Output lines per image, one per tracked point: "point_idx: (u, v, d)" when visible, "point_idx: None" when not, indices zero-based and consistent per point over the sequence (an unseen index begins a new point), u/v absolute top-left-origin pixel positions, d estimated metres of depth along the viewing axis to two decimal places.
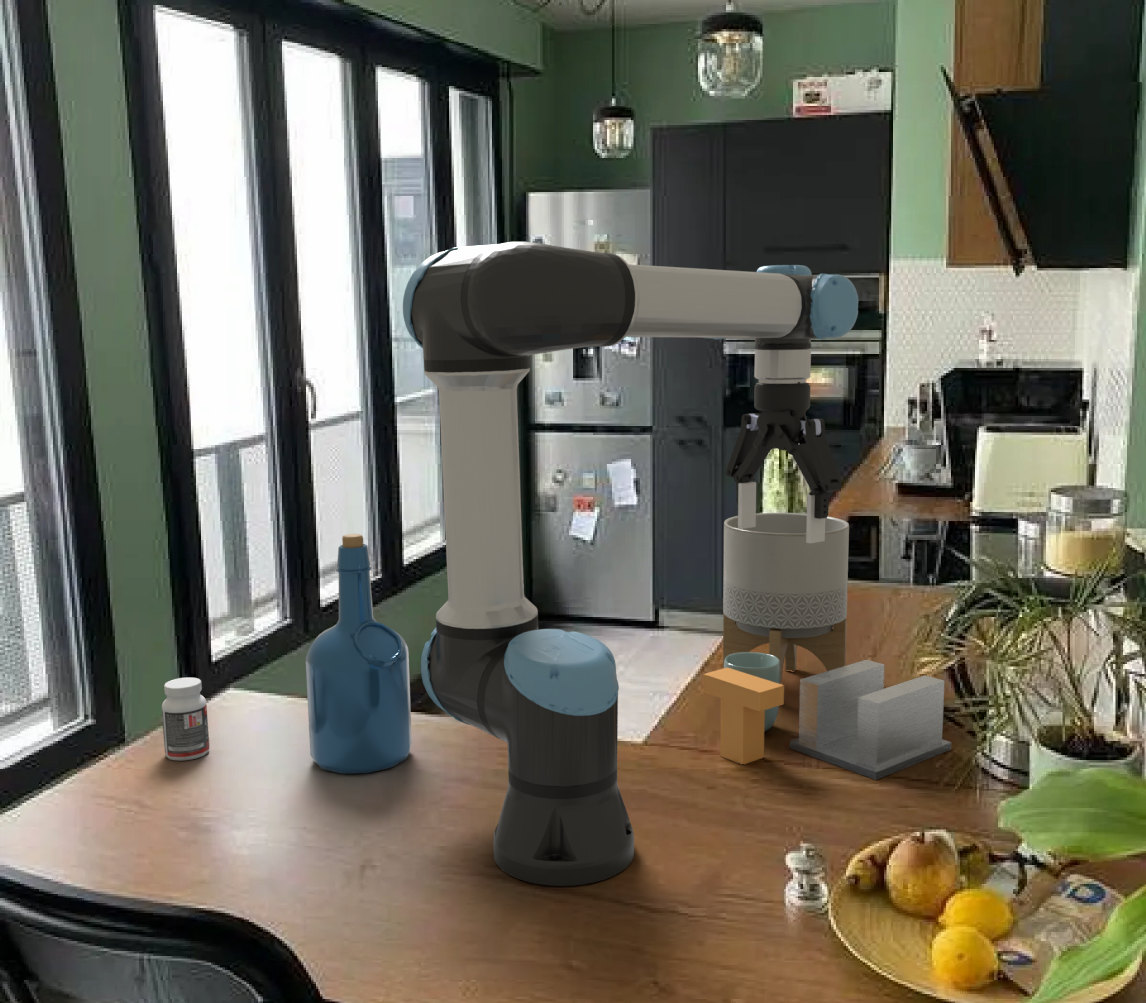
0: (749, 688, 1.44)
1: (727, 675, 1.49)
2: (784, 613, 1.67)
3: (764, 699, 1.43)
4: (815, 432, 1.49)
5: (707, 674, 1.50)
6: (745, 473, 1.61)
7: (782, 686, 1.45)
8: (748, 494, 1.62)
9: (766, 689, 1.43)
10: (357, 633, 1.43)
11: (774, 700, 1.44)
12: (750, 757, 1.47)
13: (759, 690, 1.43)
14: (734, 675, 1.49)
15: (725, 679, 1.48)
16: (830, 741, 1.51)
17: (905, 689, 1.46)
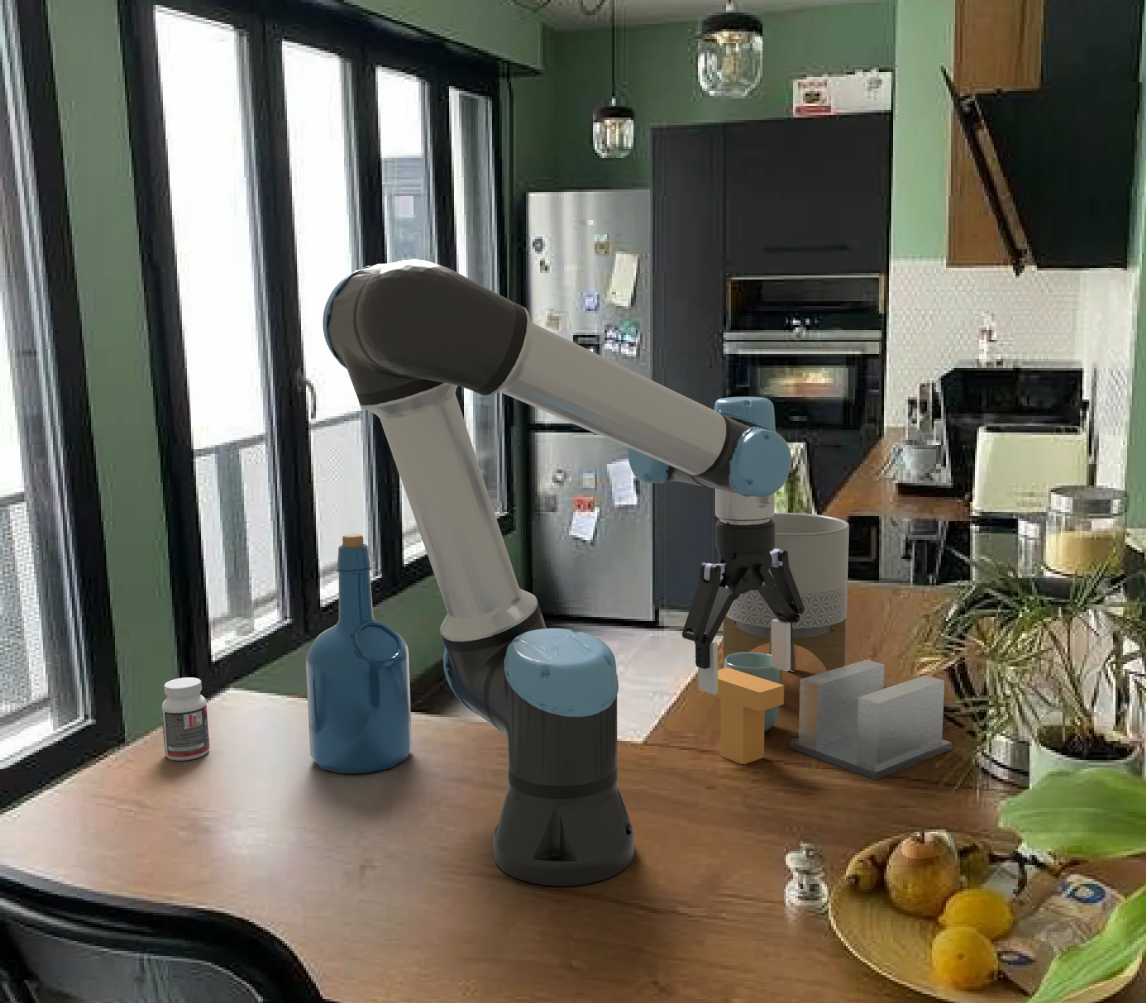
0: (749, 688, 1.44)
1: (727, 675, 1.49)
2: None
3: (764, 699, 1.43)
4: (703, 577, 1.41)
5: None
6: (773, 610, 1.51)
7: (782, 686, 1.45)
8: (778, 633, 1.51)
9: (766, 689, 1.43)
10: (357, 633, 1.43)
11: (774, 700, 1.44)
12: (750, 757, 1.47)
13: (759, 690, 1.43)
14: (734, 675, 1.49)
15: (725, 679, 1.48)
16: (830, 741, 1.51)
17: (905, 689, 1.46)
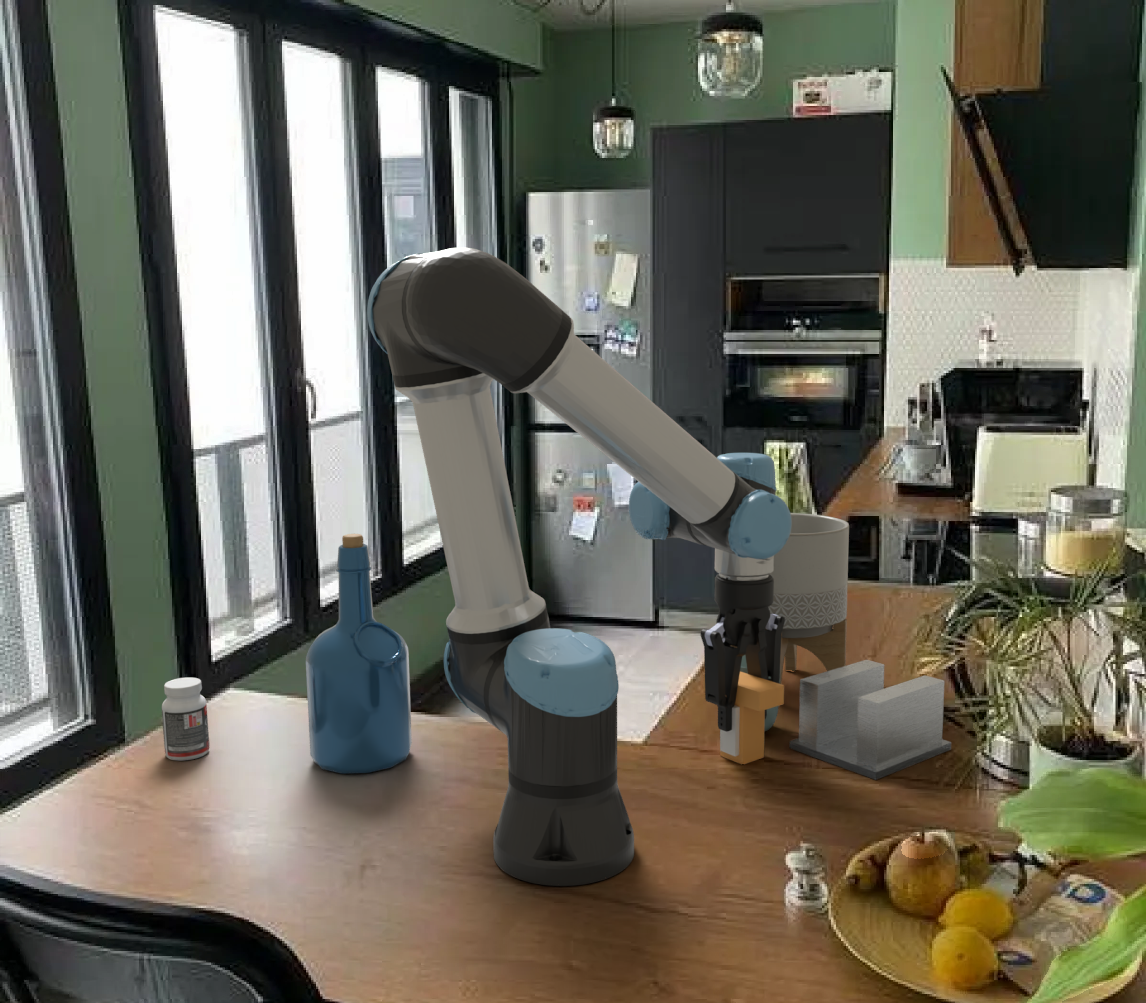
0: (749, 688, 1.44)
1: None
2: (784, 613, 1.67)
3: (764, 699, 1.43)
4: (706, 644, 1.43)
5: None
6: None
7: (782, 686, 1.45)
8: None
9: (766, 689, 1.43)
10: (357, 633, 1.43)
11: (774, 700, 1.44)
12: (750, 757, 1.47)
13: (760, 690, 1.43)
14: None
15: None
16: (830, 741, 1.51)
17: (905, 689, 1.46)
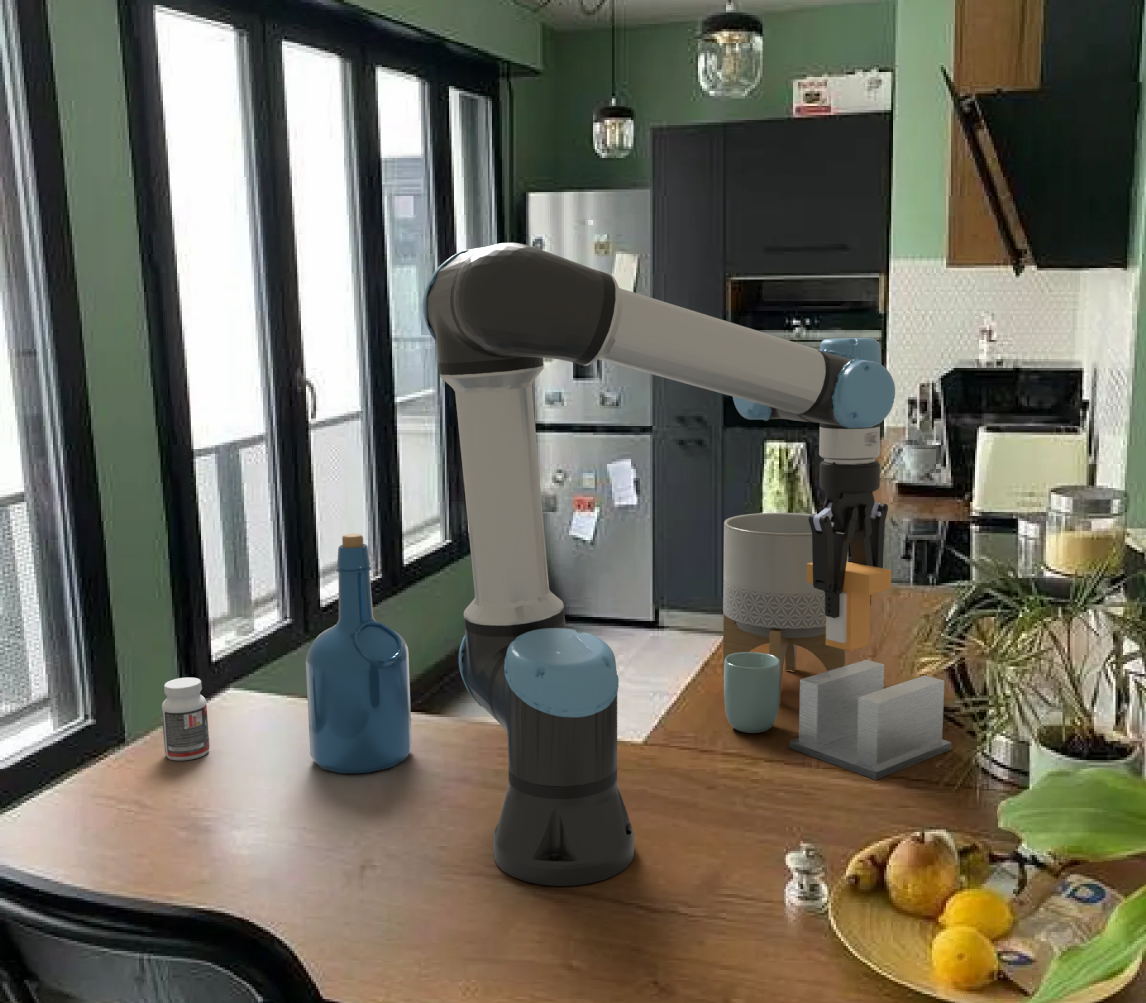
0: (857, 572, 1.44)
1: None
2: (784, 613, 1.67)
3: (873, 583, 1.43)
4: (815, 529, 1.43)
5: (811, 563, 1.49)
6: None
7: (890, 570, 1.44)
8: None
9: (874, 573, 1.43)
10: (357, 633, 1.43)
11: (882, 584, 1.44)
12: (857, 644, 1.47)
13: (868, 573, 1.43)
14: None
15: None
16: (830, 741, 1.51)
17: (905, 689, 1.46)
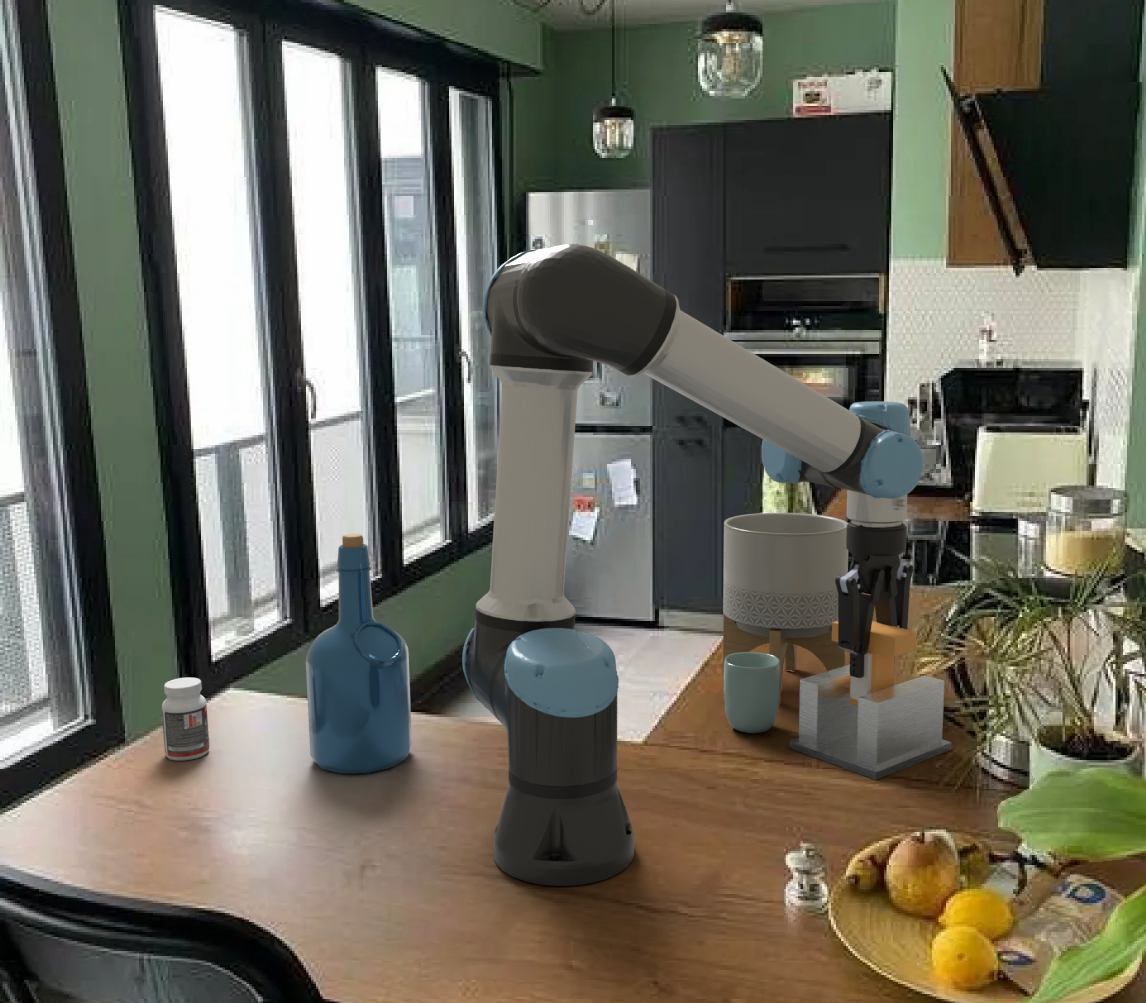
0: (883, 634, 1.45)
1: None
2: (784, 613, 1.67)
3: (898, 645, 1.44)
4: (841, 590, 1.44)
5: (836, 622, 1.51)
6: None
7: (915, 632, 1.46)
8: None
9: (900, 635, 1.45)
10: (357, 633, 1.43)
11: (907, 646, 1.45)
12: None
13: (894, 635, 1.44)
14: None
15: None
16: (830, 741, 1.51)
17: (905, 689, 1.46)
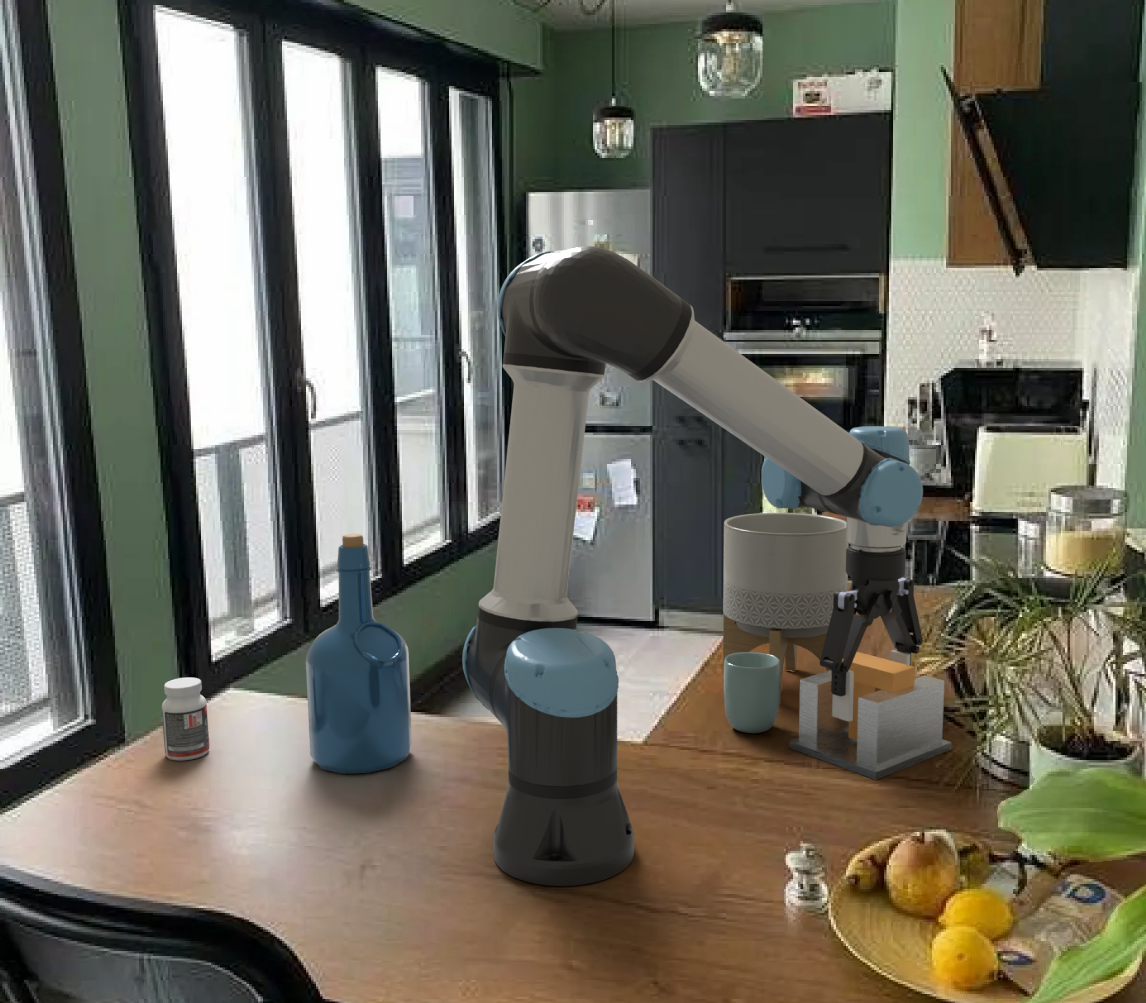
0: (882, 669, 1.46)
1: (855, 658, 1.51)
2: (784, 613, 1.67)
3: (897, 681, 1.45)
4: (837, 605, 1.44)
5: None
6: (893, 640, 1.53)
7: (913, 667, 1.47)
8: None
9: (898, 670, 1.45)
10: (357, 633, 1.43)
11: (906, 682, 1.46)
12: None
13: (892, 671, 1.45)
14: (863, 658, 1.51)
15: (855, 661, 1.49)
16: (830, 741, 1.51)
17: (905, 689, 1.46)
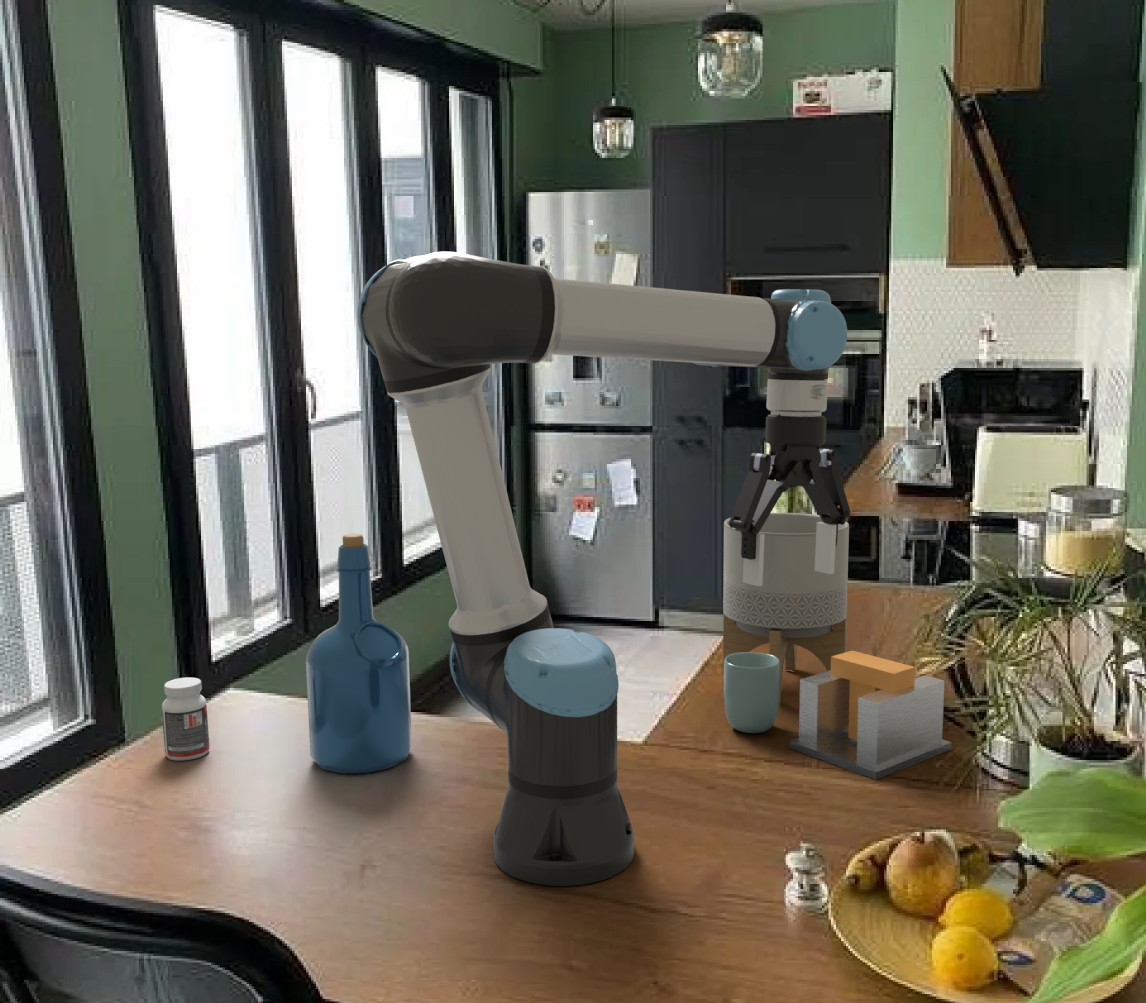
0: (882, 669, 1.46)
1: (855, 658, 1.51)
2: (784, 613, 1.67)
3: (897, 681, 1.45)
4: (753, 467, 1.41)
5: (835, 657, 1.52)
6: (819, 512, 1.50)
7: (913, 667, 1.47)
8: (823, 536, 1.50)
9: (898, 670, 1.45)
10: (357, 633, 1.43)
11: (906, 682, 1.46)
12: None
13: (892, 671, 1.45)
14: (863, 658, 1.51)
15: (855, 661, 1.49)
16: (830, 741, 1.51)
17: (905, 689, 1.46)
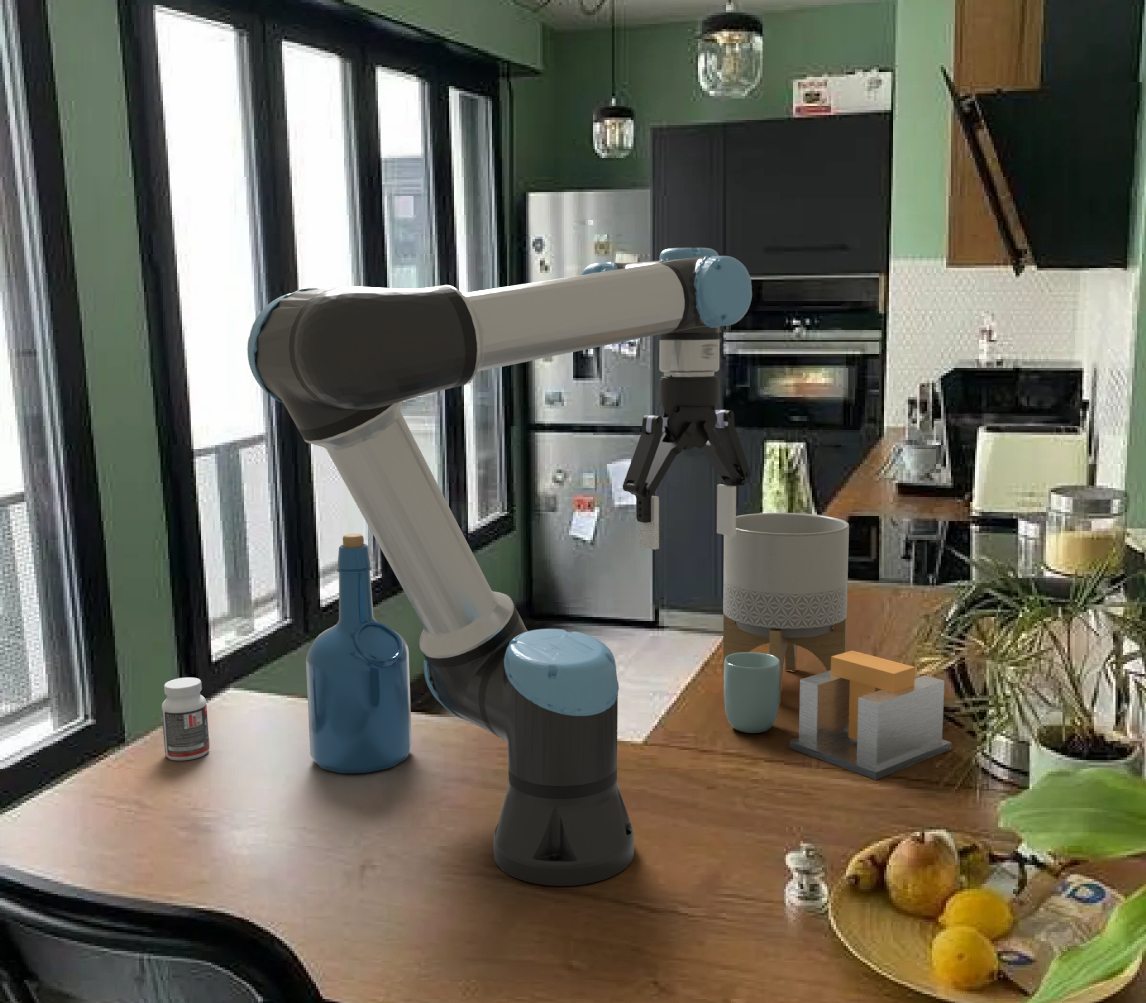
0: (882, 669, 1.46)
1: (855, 658, 1.51)
2: (784, 613, 1.67)
3: (897, 681, 1.45)
4: (645, 429, 1.39)
5: (835, 657, 1.52)
6: (719, 474, 1.49)
7: (913, 667, 1.47)
8: (723, 498, 1.49)
9: (898, 670, 1.45)
10: (357, 633, 1.43)
11: (906, 682, 1.46)
12: None
13: (892, 671, 1.45)
14: (863, 658, 1.51)
15: (855, 661, 1.49)
16: (830, 741, 1.51)
17: (905, 689, 1.46)
